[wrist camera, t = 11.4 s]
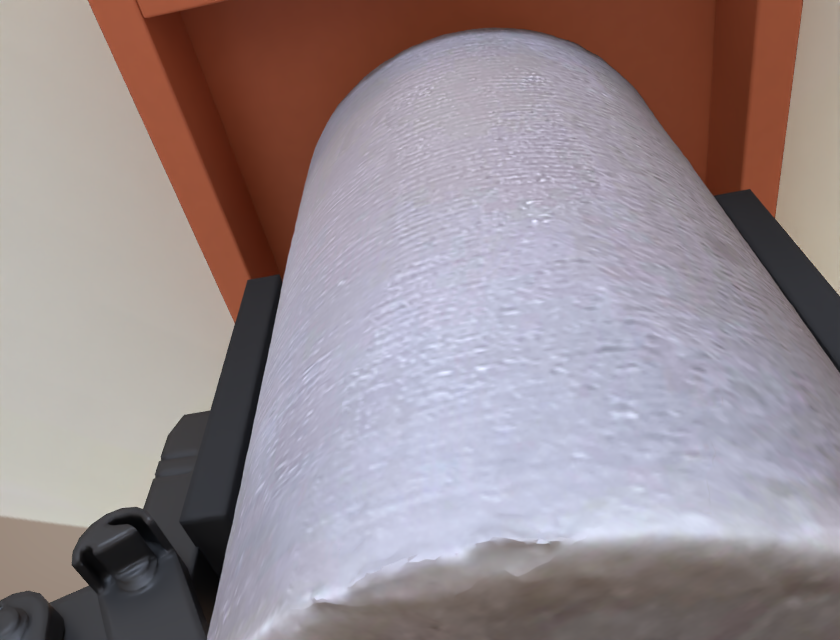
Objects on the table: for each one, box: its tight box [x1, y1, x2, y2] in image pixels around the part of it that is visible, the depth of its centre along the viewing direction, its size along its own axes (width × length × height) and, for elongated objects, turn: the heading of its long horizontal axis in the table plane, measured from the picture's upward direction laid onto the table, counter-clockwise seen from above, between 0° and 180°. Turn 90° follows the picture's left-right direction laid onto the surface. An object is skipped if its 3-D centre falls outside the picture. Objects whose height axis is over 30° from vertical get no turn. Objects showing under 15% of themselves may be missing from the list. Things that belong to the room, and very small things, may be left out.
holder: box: [88, 0, 803, 323], centre depth 20 cm, size 15×15×4 cm
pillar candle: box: [207, 28, 840, 640], centre depth 13 cm, size 10×10×15 cm
